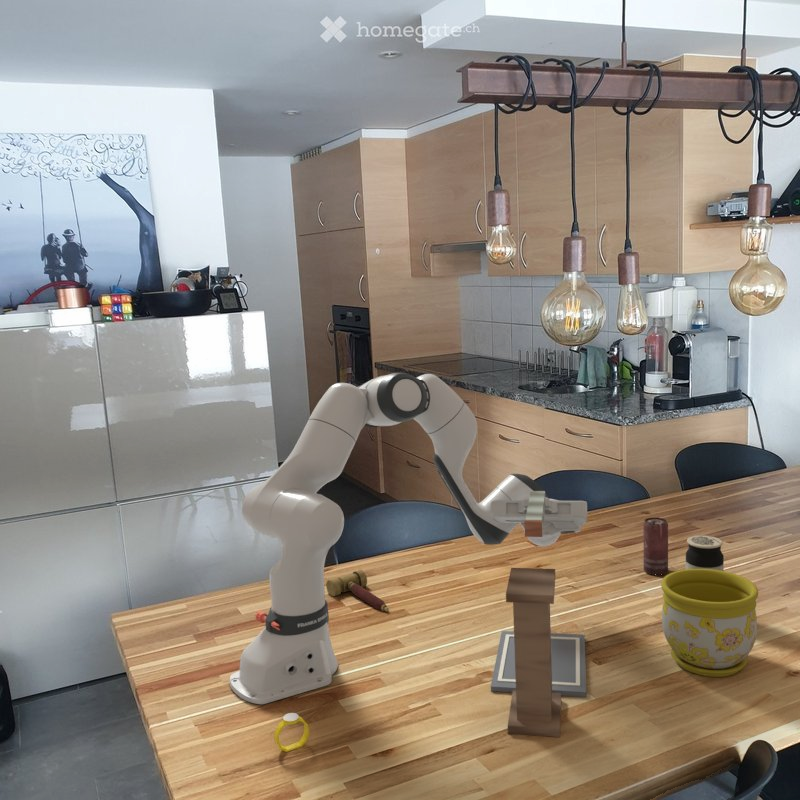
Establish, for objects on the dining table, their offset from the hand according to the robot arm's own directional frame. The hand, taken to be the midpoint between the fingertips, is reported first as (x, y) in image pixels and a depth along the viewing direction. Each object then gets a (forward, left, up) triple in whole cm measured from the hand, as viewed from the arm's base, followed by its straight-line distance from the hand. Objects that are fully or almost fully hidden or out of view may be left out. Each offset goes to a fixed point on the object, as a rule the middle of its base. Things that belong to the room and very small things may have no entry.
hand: (536, 503), depth 163 cm
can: (+55, +10, -33) cm, 65 cm away
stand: (-18, -15, -33) cm, 41 cm away
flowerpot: (+22, -25, -33) cm, 47 cm away
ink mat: (-3, -3, -33) cm, 33 cm away
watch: (-56, +7, -33) cm, 66 cm away
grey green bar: (-4, -3, -2) cm, 5 cm away
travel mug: (+40, -13, -33) cm, 53 cm away
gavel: (-10, +50, -34) cm, 61 cm away
